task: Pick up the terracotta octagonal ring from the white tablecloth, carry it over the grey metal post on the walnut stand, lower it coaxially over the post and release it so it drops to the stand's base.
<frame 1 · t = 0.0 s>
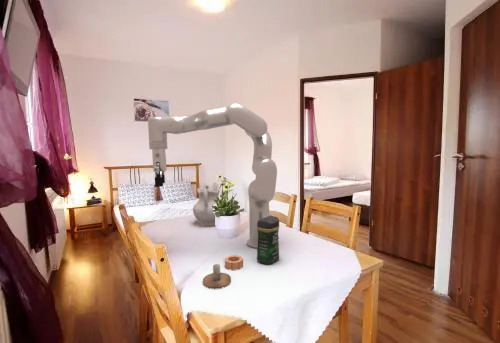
hand: (160, 184, 125), 31 cm above the table, fingers open, 9 cm apart
coffee jar: (268, 260, 119), on the table
post stand: (217, 281, 102), on the table
ring: (234, 266, 114), on the table
ceramic pitcher: (209, 224, 171), on the table
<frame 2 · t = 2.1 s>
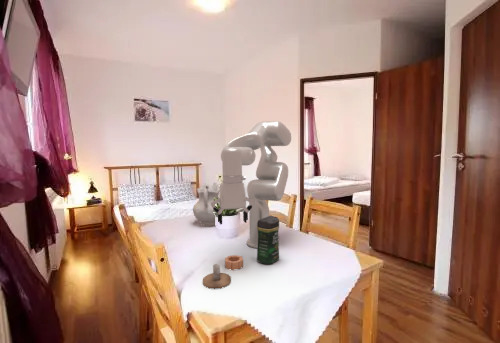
hand: (233, 222, 112), 18 cm above the table, fingers open, 9 cm apart
nothing on the table moved.
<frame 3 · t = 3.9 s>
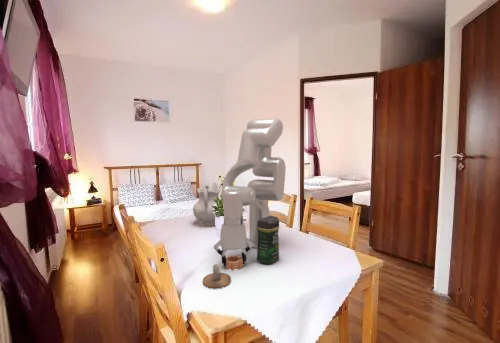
hand: (233, 263, 114), 1 cm above the table, fingers closed on ring, 7 cm apart
ring: (234, 266, 114), on the table, touching gripper
everything else where it was.
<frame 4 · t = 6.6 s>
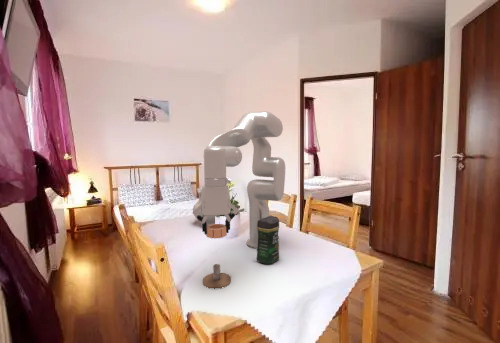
hand: (216, 232, 100), 18 cm above the table, fingers closed on ring, 7 cm apart
ring: (216, 234, 100), point 17 cm above the table, touching gripper
everything else where it was.
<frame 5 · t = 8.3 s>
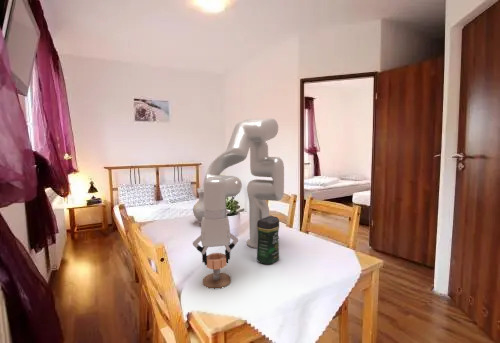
hand: (216, 262, 101), 7 cm above the table, fingers closed on ring, 7 cm apart
ring: (216, 264, 101), point 6 cm above the table, touching gripper
everything else where it was.
when the fingers open (5 cm above the table, at t = 9.3 s): ring drops 3 cm, resting on post stand.
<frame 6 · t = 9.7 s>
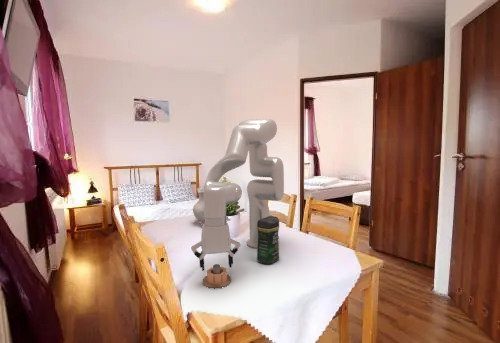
hand: (216, 267, 101), 5 cm above the table, fingers open, 9 cm apart
ring: (217, 278, 102), point 1 cm above the table, touching post stand
everything else where it was.
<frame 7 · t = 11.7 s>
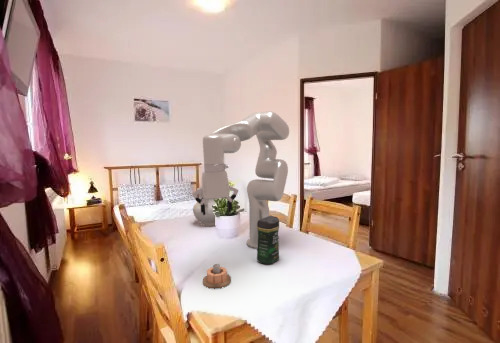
hand: (216, 212, 108), 23 cm above the table, fingers open, 9 cm apart
nothing on the table moved.
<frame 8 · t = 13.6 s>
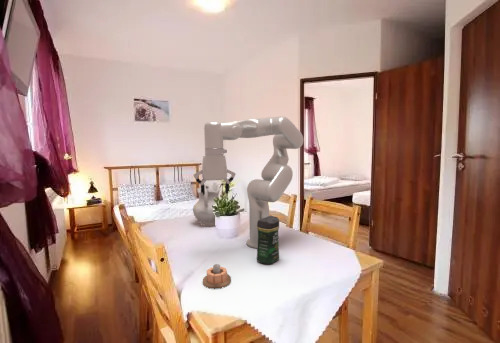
hand: (215, 193, 118), 28 cm above the table, fingers open, 9 cm apart
nothing on the table moved.
at the end: ring 0.0 cm from the post stand (horizontally); ring point 1.0 cm above the table; the gripper is holding nothing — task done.
